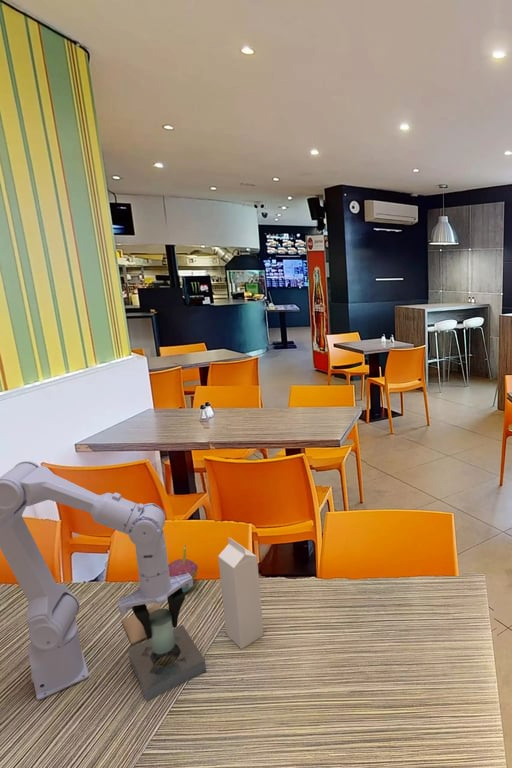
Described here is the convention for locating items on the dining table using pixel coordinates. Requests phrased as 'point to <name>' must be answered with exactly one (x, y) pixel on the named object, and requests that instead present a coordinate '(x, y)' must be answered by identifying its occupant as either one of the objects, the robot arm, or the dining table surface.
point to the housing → (172, 675)
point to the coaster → (136, 627)
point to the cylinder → (161, 631)
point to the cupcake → (183, 568)
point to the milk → (240, 594)
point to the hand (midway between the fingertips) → (161, 630)
